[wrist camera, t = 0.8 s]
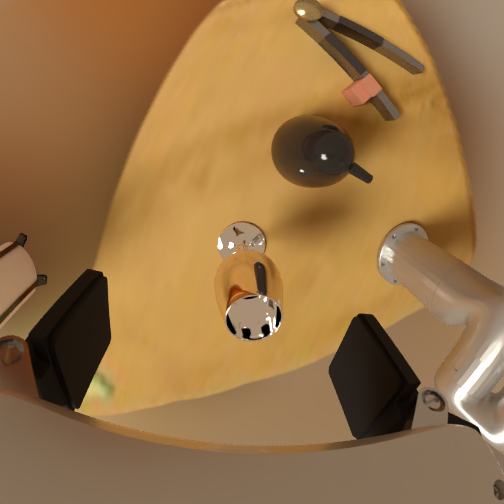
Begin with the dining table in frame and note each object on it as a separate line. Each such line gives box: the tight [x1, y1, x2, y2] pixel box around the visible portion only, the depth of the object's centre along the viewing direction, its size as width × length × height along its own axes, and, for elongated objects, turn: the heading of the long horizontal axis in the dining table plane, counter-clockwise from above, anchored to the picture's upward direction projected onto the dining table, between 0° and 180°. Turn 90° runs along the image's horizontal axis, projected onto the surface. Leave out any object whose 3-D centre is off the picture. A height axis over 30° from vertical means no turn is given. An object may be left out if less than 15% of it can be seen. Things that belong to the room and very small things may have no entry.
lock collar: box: [342, 74, 382, 106], centre depth 34 cm, size 3×4×4 cm
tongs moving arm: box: [317, 9, 424, 74], centre depth 30 cm, size 22×2×3 cm, turn 73°
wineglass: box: [214, 222, 283, 341], centre depth 34 cm, size 8×8×20 cm
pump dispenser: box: [271, 115, 373, 188], centre depth 32 cm, size 10×10×15 cm
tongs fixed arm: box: [293, 0, 400, 121], centre depth 31 cm, size 24×4×4 cm, turn 45°
